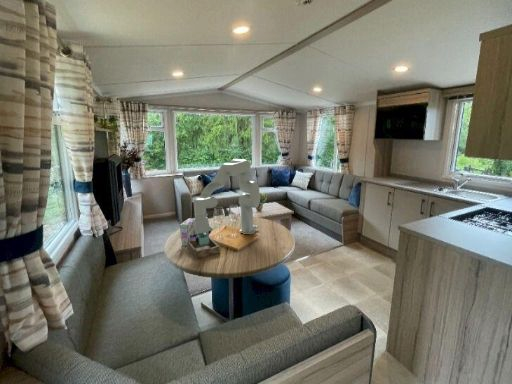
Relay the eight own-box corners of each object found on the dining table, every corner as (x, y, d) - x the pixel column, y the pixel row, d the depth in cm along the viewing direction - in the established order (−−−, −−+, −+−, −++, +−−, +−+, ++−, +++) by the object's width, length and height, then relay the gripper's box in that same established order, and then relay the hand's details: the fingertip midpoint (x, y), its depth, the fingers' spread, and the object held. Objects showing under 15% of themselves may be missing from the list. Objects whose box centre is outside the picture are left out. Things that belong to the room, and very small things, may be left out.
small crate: (204, 238, 178) (203, 232, 177) (209, 243, 169) (208, 236, 168) (196, 240, 175) (195, 233, 174) (200, 245, 166) (200, 238, 165)
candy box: (189, 246, 180) (187, 224, 177) (181, 246, 182) (179, 224, 178) (197, 238, 194) (195, 218, 190) (190, 238, 195) (188, 217, 191)
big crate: (209, 242, 186) (208, 236, 185) (220, 253, 169) (219, 246, 168) (187, 248, 178) (187, 241, 177) (196, 259, 161) (196, 252, 160)
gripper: (210, 212, 175) (212, 237, 179) (186, 217, 167) (188, 242, 171) (215, 215, 169) (216, 240, 173) (189, 220, 160) (191, 246, 165)
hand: (202, 241), depth 172 cm, fingers closed on small crate, 6 cm apart
